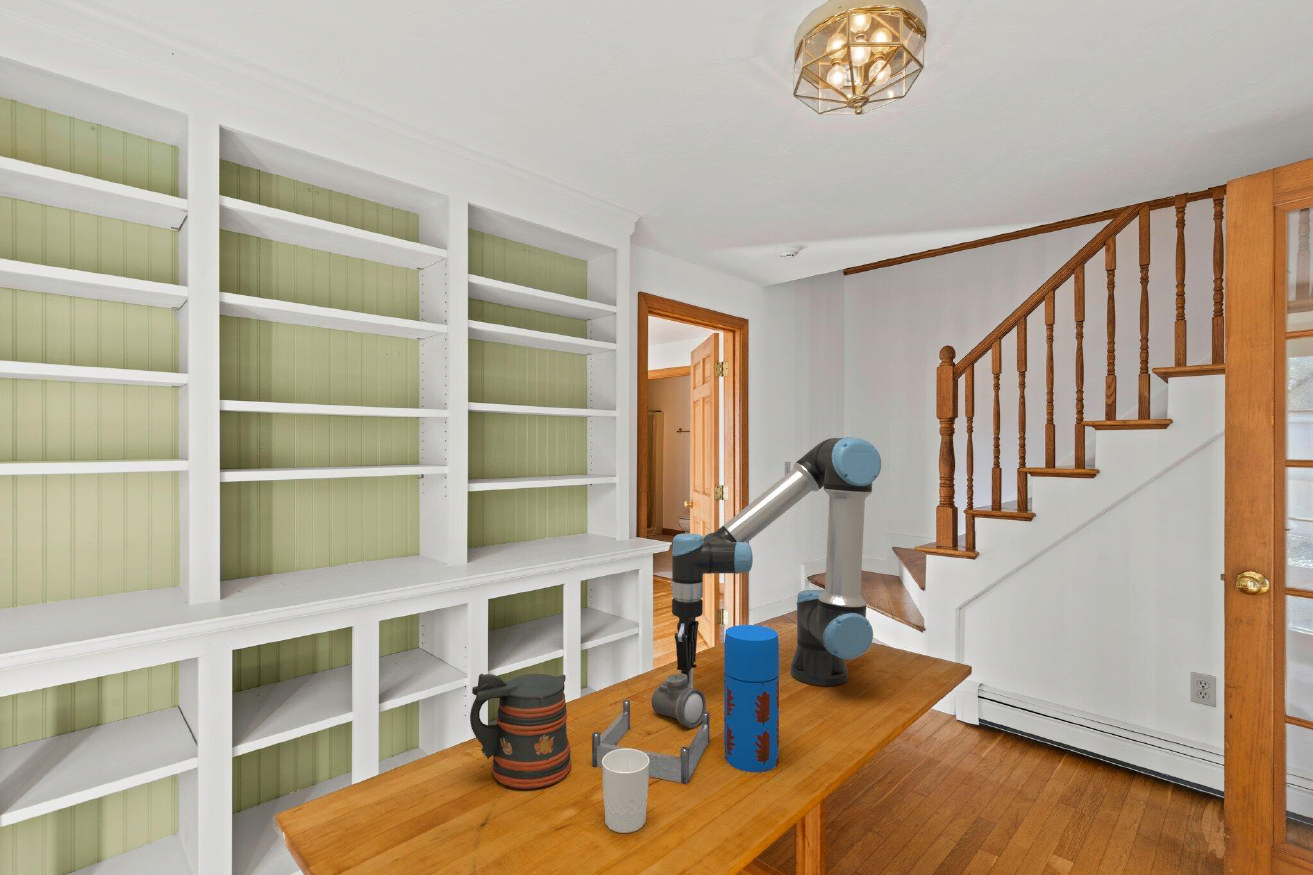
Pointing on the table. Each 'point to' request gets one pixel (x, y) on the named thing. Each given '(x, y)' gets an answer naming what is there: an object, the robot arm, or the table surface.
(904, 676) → the table surface
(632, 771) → the white cup
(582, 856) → the table surface
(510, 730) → the beer stein
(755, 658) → the thermos
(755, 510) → the robot arm
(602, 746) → the grey metal frame
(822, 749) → the table surface
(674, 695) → the pipe fitting
